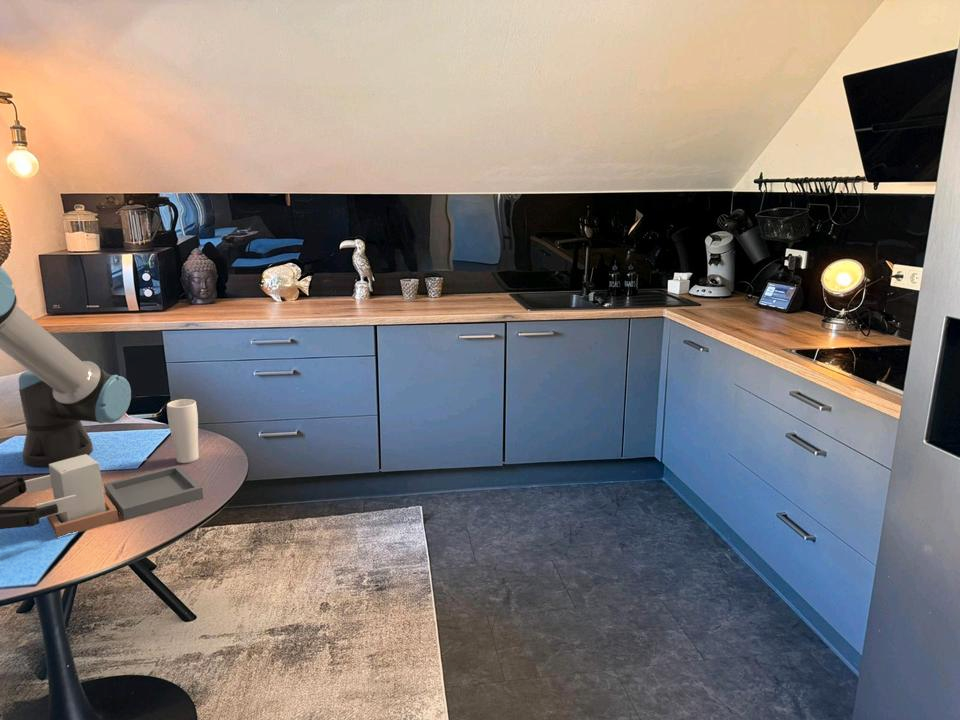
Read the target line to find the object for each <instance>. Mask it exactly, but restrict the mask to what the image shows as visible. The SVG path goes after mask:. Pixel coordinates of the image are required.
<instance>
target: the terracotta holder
mask: <svg viewBox="0 0 960 720" xmlns="http://www.w3.org/2000/svg"><path fill="white" fill-rule="evenodd" d="M103 494H104V501H105V507H106V511H104V512H100V513H97V514H93V515H89V516H86V517H82V518H78V519H75V520H71V521H67V522H64V523H60V522H59V521H58V519H57V514H55V515H51V516H47V517H46V519H47V521H48V524H49V525H50V527H51V529H52V531H53V530H54V531H53V533H54V532H55V533H54V535H55V534H56V535H55V538H56V539H59V538H58V537H60V536H63V535H66V534H68V533H73V532H77V531H78V532H79V533H82V532H84V531H88V530H89V531H90V530H92V529H96V528H100V527H103V526H107V525H110V524H114V523H117V522H119V512H118V511H117V509H116V508H115V507H114V505H113V504H112V502H111V501H110V500H109V498H108V497H107V496H106V494H105V491H103ZM113 522H114V523H113ZM109 523H110V524H109Z"/></svg>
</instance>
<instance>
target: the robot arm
mask: <svg viewBox="0 0 960 720" xmlns="http://www.w3.org/2000/svg"><path fill="white" fill-rule="evenodd" d="M13 283H14V282H13V280H12V278H11V277H10V274H9V273H7V271H6V270H5V269H3V268H2V267H1V266H0V350H1V351H3V352H4V353H5V354H6V355H8V356H9V357H10V358H12V359H13V360H14V361H16V362H17V363H18V364H19V365H21V366H22V367H23V368H25V369H27V370H26V371H24V372H23V373H21V374H20V375H19V377H18V385H19V387H18V391H19V395H20V396H19V397H20V401H21V406H22V411H23V415H24V421H25V422H24V423H25V427H26V435H25V439H24V445H23V449H22V458H23V459H22V460H23V463H24V464H25V465H27V466H30V467H39V468H41V467H49V464H51V463H55V462H58V461H62V460H66V459H69V458H73V457H77V456H81V455H85V454H87V455H88V456H89V455H91V453H92V452H93V450H94V449H93V448H94V447H93V442H92V439H91V437H90V436H89V434H88V432H87V430H86V429H85V427H84V425H83V424H82V421H83V422H90V423H91V422H92V423H94V422H95V423H99V424H113V423H115V422H117V421H119V420H121V419H122V418H123V417H124V416H125V414H126V413H127V411H128V409H129V407H130V404H131V400H132V389H131V385H130V382H129V381H128V380H127V379H126V378H125V377H124V376H121V375H120V376H119V375H118V374H113V375H112V374H109V373H107V372H106V371H105V370H103V369H102V368H101V367H100V366H99V365H98V364H96V363H95V362H93V361H90V360H81V359H80V358H79V357H78V356H76V355H75V354H74V353H73V352H72V351H70V349H68V348H67V347H66V346H65V345H64V344H63V343H61V342H60V341H59V340H58V339H57V338H56V337H54V336H53V335H52V334H51V333H50V332H48V331H47V330H46V329H45V328H43V326H42V325H40V324H39V323H38V322H36V320H34V318H32V317H31V316H29V315H28V313H26V312H25V311H24V310H23V309H21V308H20V307H19V306H18V297H17V294H16V289H15V288H13V287H12V285H13ZM51 489H52V483H51V477H50V474H48V475H44V476H43V475H42V476H40V477H35V478H34V477H33V478H31V479H27V480H25V478H24V476H19V477H15V478H12V479H10V480H7V481H5V482H2V483H0V530H8V529H17V528H28V527H35V526H37V525H40V519H43V518H47V516H51V515H55V514H59V513H63V512H66V511H70V510H74V509H78V506H77V500H76V495H71V496H67V497H63V498H59V499H55V500H54V499H52V500H48V501H47V500H46V501H44V502H40V503H36V504H35V506H3V505H5V504H7V503H8V502H11V501H12V500H14V499H16V498H18V497H19V496H21V495H24V494H25V493H26V494H27V495H30V494H34V493H38V492H42V491H46V490H51Z"/></svg>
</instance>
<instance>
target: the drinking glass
mask: <svg viewBox="0 0 960 720" xmlns="http://www.w3.org/2000/svg"><path fill="white" fill-rule="evenodd" d="M166 412H167V413H166V415H167V420H168V421H167V422H168V427H169V431H170V434H171V439H172V444H173V449H174V454H175V460H176V462H178V463H179V464H190V463H193V462H195V461H197V460H199V457H200V453H199V415H198V406H197V401H196V400H195V399H190V398H189V399H188V398H182V399H181V398H180V399H175V400H172V401H169V402H168V403H167V404H166Z"/></svg>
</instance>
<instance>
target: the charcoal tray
mask: <svg viewBox="0 0 960 720" xmlns="http://www.w3.org/2000/svg"><path fill="white" fill-rule="evenodd" d="M103 486H104V493H105V494H106V496H107V497H108V498H109V500H110V501H111V502H112V504H113V505H114V506H115V508H116V509H117V513H118V514H119V513H120V514H119V515H120V517H122V519H123V520H124V521H127V519H128V520H131V519H135V518H139V517H141V516H146V515H148V514H153V513H156V512H159V511H162V509H163V510H166V509H169V507H170V508H173V507H176V506H180V505H183V504H188V503H190V502H194V501H198V500H200V498H201V499H204V493H203V491H204V490H203V487H202V486H201V485H200V484H199V483H197V480H196V479H194V478H193V477H192V476H191V475H190V474H189V473H188V472H187V471H185V470H184V469H183V468H182V467H181V465H179V464H178V465H174V466H170V467H165V468H162V469H161V468H160V469H158V470H153V471H149V472H146V473H141V474H138V475H134V476H130V477H126V478H122V479H117V480H113V481H110V482H106V483H103ZM197 499H198V500H197ZM193 500H194V501H193ZM165 508H166V509H165ZM158 510H159V511H158ZM155 511H156V512H155Z"/></svg>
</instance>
